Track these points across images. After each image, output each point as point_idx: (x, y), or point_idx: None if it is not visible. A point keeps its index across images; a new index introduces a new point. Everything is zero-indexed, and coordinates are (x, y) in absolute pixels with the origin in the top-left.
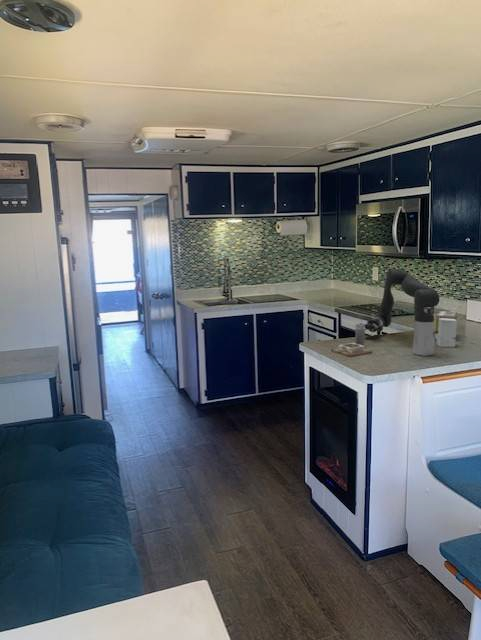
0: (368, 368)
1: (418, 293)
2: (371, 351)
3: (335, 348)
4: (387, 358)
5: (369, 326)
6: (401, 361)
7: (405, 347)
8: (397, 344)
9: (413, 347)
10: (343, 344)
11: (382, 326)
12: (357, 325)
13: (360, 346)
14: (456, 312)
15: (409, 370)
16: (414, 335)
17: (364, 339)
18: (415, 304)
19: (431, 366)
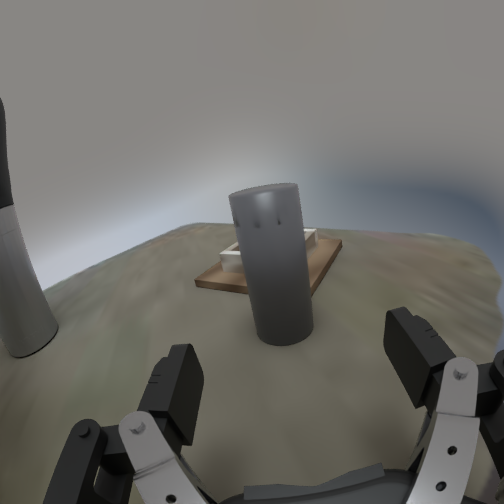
0: (193, 233)
1: (3, 106)
2: (197, 277)
3: (335, 246)
4: (148, 274)
5: (319, 488)
6: (118, 274)
7: (44, 396)
8: (60, 447)
9: (47, 310)
10: (305, 235)
11: (50, 496)
12: (275, 184)
13: (234, 246)
14: None
15: (119, 253)
16: (29, 263)
17: (248, 291)
18: (1, 141)
19: (71, 278)
